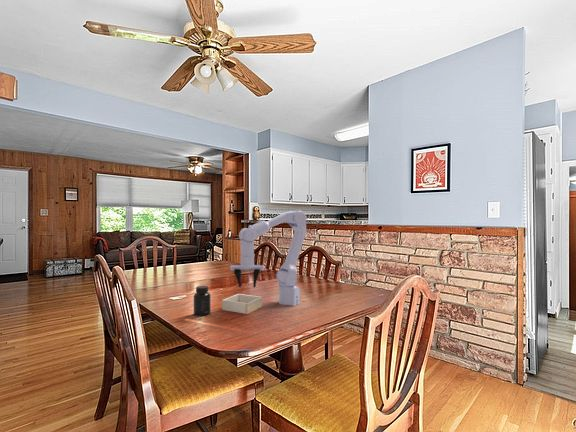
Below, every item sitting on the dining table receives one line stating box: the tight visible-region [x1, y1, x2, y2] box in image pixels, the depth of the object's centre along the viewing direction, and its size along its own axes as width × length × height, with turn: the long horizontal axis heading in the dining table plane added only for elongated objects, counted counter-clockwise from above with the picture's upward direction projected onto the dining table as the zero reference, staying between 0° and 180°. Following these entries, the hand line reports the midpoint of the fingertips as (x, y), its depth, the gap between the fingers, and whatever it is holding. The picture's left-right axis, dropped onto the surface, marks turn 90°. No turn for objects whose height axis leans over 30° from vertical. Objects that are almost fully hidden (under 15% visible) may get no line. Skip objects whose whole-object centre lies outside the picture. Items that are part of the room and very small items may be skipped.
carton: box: [221, 293, 261, 315], centre depth 137 cm, size 12×12×5 cm
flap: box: [246, 296, 263, 315], centre depth 134 cm, size 1×12×4 cm, turn 153°
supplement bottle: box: [193, 285, 212, 317], centre depth 129 cm, size 7×7×12 cm
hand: (247, 286), depth 136 cm, fingers open, 6 cm apart
